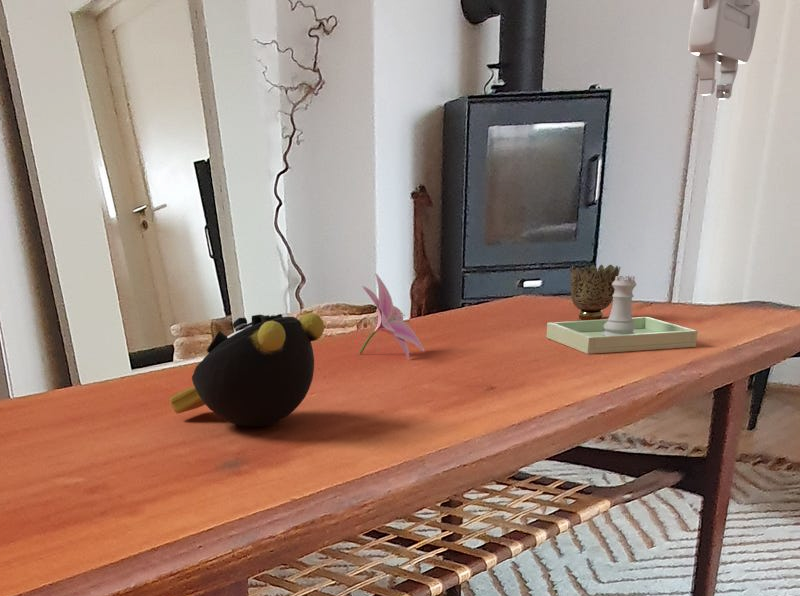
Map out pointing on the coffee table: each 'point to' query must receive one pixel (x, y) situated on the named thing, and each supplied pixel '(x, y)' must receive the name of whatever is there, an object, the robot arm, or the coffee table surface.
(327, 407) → the coffee table surface
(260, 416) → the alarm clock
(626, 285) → the rook chess piece
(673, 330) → the game tray
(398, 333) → the lily
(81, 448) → the coffee table surface
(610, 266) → the cup
